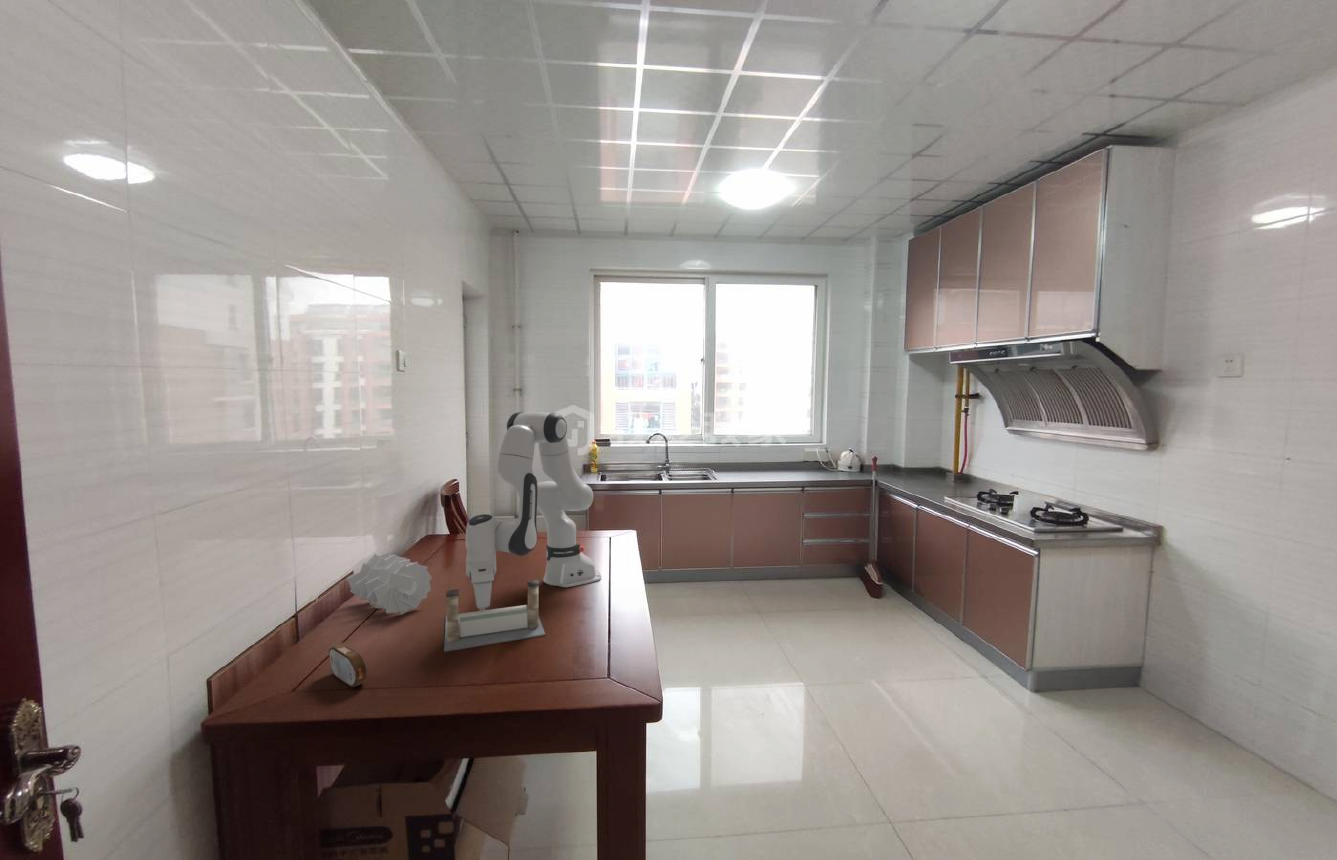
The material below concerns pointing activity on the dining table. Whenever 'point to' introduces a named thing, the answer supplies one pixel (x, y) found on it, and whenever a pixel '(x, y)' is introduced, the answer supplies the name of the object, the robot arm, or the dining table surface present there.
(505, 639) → the mat
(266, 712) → the dining table surface
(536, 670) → the dining table surface
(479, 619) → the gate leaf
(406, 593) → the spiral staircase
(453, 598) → the gate posts
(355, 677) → the tin
